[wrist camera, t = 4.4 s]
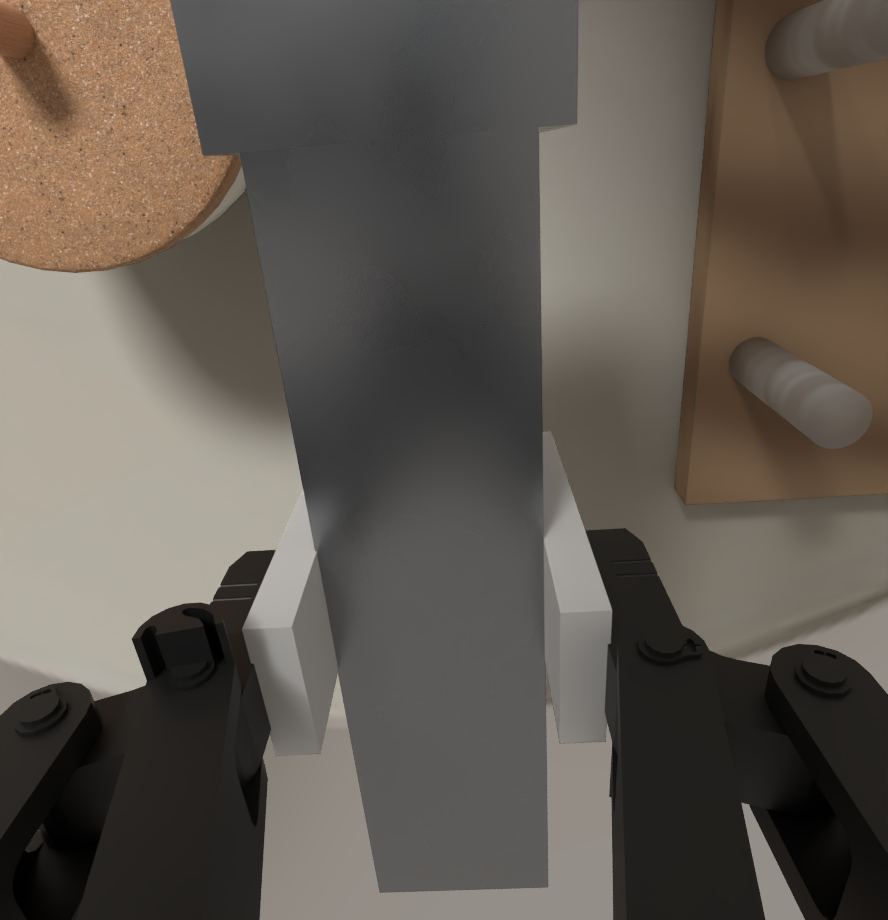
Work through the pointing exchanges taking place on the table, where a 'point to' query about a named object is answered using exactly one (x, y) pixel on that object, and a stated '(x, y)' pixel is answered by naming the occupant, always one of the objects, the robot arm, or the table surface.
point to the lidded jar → (100, 137)
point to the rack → (790, 258)
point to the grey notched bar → (411, 381)
